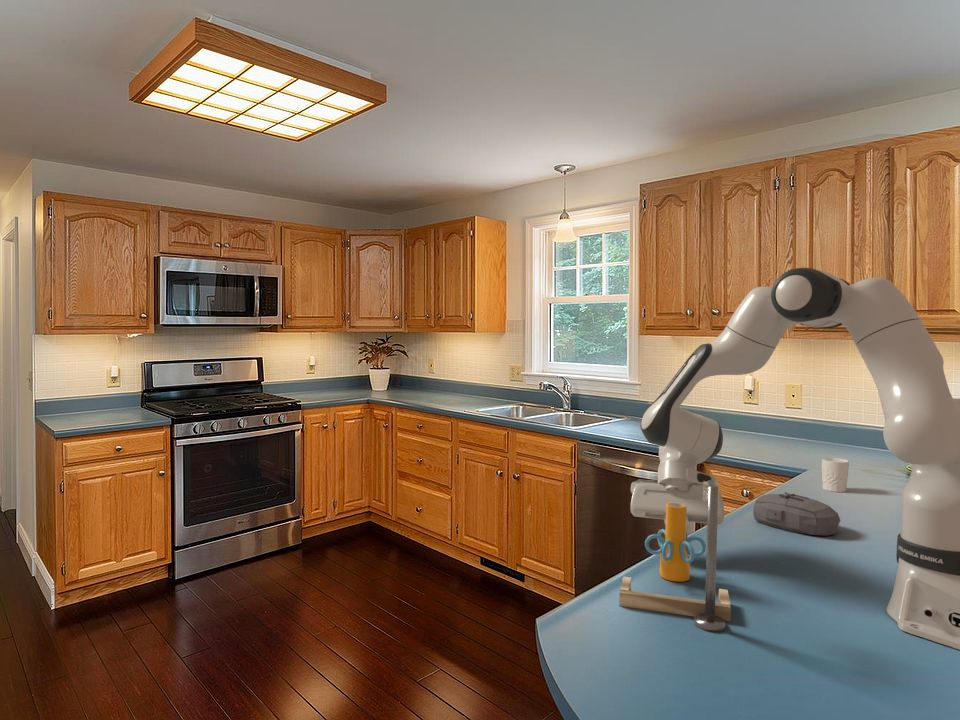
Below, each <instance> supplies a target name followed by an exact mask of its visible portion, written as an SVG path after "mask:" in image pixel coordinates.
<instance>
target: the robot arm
mask: <svg viewBox="0 0 960 720" xmlns="http://www.w3.org/2000/svg"><path fill="white" fill-rule="evenodd" d="M916 311H917V310H915V308H914V307H913V305H912V304H911V302H909V300H908V299H907V298H906V296H905V295H904V294H903V293H902V292H901V290H900V289H899V287H897V286H896V285H895V284H894V283H893V282H892V281H891V280H889V279H887V278H883V277H870V278H869V277H868V278H865V279H864V278H863V279H862V280H859V281H857V282H855V283H852V284H850V283H849V282H848V281H847V280H845V279H843V278H841V277H838V276H836V275H834V274H832V273H830V272H827V271H825V270H824V271H823V270H819V269H816V268H811V267H798V268H792V269H789V270H786V271H784V273H782V274H781V275H780V276H779V277H778V278H777V279H776V280H775V281H774V283H773V285H772V286H765V285H764V286H757V287H754V288H753V289H751V290H749V292H748V293H747V294H746V296H745V297H744V298H743V299H742V301H741V302H740V304H739V305H738V306H737V307H736V309H735V310H734V312H733V314H732V315H731V317H730V319H729V320H728V323H727V324H726V326H725V328H724V329H723V331H721V333H720V334H719V335H718V336H717V337H715V339H713V340H712V341H710V342H709V343H703V344H700V345H699V346H698V347H697V348H696V349H695V350H694V351H693V352H692V353H691V354H690V355H689V357H688V358H686V361H684V363H683V365H681V366H680V368H679V369H678V371H677V372H676V373H675V375H674V376H673V377H672V379H671V380H670V382H669V383H668V384H667V385H666V387H665V388H663V389H664V390H662V392H661V393H660V395H659V396H658V397H657V398H656V399H655V400H654V401H653V402H651V404H650V405H649V407H647V409H646V410H645V412H644V413H643V415H642V417H641V419H640V420H641V421H640V430H641V432H642V434H643V436H644V438H645V439H646V441H647V442H648V443H649V444H652V445H655V446H658V459H659V465H658V466H657V480H655V479H643V478H638V479H637V480H635V481H632V482H631V484H630V493H631V495H632V496H631V499H630V500H631V501H630V507H629V508H630V513H631V514H632V515H633V517H637V518H647V519H654V520H655V519H657V520H658V519H659V520H663V521H664V526H666V503H670V502H676V503H682V504H685V505H686V528H687V527H688V526H689V523H698V524H707V516H708V501H703V481H707V482H708V480H714V482H718V480H717V478H716V477H715V476H714V475H710V474H707V473H704V472H701V471H698V470H697V466H698V465H699V464H703V463H705V462H708V461H709V460H711V459H713V458H714V457H716V456H717V455H718V454H719V453H720V452H721V450H722V449H723V448H722V447H723V444H724V443H723V442H724V434H723V430H722V426H721V425H720V423H719V422H718V421H717V420H714V419H711V418H710V417H707V416H704V415H702V414H698V413H695V412H692V411H689V410H687V409H683V408H681V407H680V406H681V405H682V404H683V403H684V401H685V400H686V399H687V398H688V396H689V395H690V394H691V392H692V391H693V390H694V388H695V387H696V386H697V384H698V383H699V382H701V381H702V380H704V379H707V378H709V377H715V376H741V375H743V376H744V375H748V374H751V373H755V372H757V371H759V370H761V369H762V368H763V367H764V366H765V365H767V363H768V362H769V360H770V359H771V357H772V355H773V354H774V352H775V350H776V348H777V346H778V344H779V342H780V341H781V339H782V337H783V336H784V334H785V333H786V331H787V330H788V329H790V327H792V326H795V325H797V324H799V325H801V326H807V327H813V328H820V329H832V328H833V329H834V328H838V327H841V326H844V327H845V329H846V330H847V331H848V333H849V335H850V336H851V339H852V340H853V343H854V345H855V347H856V348H857V350H858V352H859V354H860V356H861V358H862V360H863V362H864V363H865V365H866V367H867V370H868V371H869V373H870V375H871V377H872V380H873V381H874V384H875V387H876V389H877V393H878V397H879V399H880V400H879V401H880V404H881V408H882V409H881V410H882V412H883V418H884V426H883V430H882V431H883V434H882V435H883V440H884V444H885V446H886V447H887V449H888V450H889V452H890V453H891V454H892V455H893V456H895V458H897V459H898V460H900V461H902V462H904V463H907V464H911V465H912V468H911V472H910V475H909V477H908V480H907V483H905V485H904V487H903V489H902V492H901V503H900V504H901V505H900V507H901V508H900V510H901V511H900V533H898V534H897V538H896V540H897V541H896V553H895V554H896V555H895V556H896V563H897V570H896V575H895V576H896V577H895V581H894V586H893V591H892V594H891V597H890V599H889V602H888V605H887V606H886V613H887V614H888V615H889V616H890V617H891V619H893V620H894V621H895V622H896V623H897V626H898V628H899V629H900V630H901V631H903V632H905V633H908V634H911V635H914V636H918V637H921V638H923V639H926V640H929V641H933V642H934V643H938V644H941V645H945V646H948V647H950V648H954V649H957V650H959V651H960V398H953V396H952V394H951V391H950V388H949V386H948V382H947V379H946V375H945V370H944V363H945V360H944V358H943V355H942V353H941V351H940V350H939V349H938V347H937V345H936V343H935V342H934V340H933V338H932V336H931V335H930V333H929V331H928V330H927V327H926V326H925V324H924V323H923V321H922V319H921V318H920V316H919V315H918V313H917V312H916ZM724 520H725V506H724V500H723V497H722V494H721V491H720V490H719V502H718V516H717V526H719V525H721V524H722V523H723V522H724Z"/></svg>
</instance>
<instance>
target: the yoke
mask: <svg viewBox="0 0 960 720" xmlns="http://www.w3.org/2000/svg"><path fill="white" fill-rule="evenodd" d="M621 581H622V582H621V585H620V588H619V593H618V594H619V599H618V601H619V602H618V604H619V605H618V606H619V607H625V608H632V609H638V610H646V611H653V612H660V613H668V614H674V615H675V614H676V615H679V616H680V615H682V616H688V617H694V618H695V616H696V615H698V614H705V599H704V600H703V599H696V598H688V597H681V596H673V595H665V594H657V593H651V592H643V591H635V590H632V577H631V576H623V577H622V580H621ZM731 611H732V606H731V601H730V595H729V591H728V589H724V588H718V601H715V616H718V617H720V618H722V619H723V620H724V621H725V622H731V621H732V620H731V618H732V616H731V615H732V612H731Z"/></svg>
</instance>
